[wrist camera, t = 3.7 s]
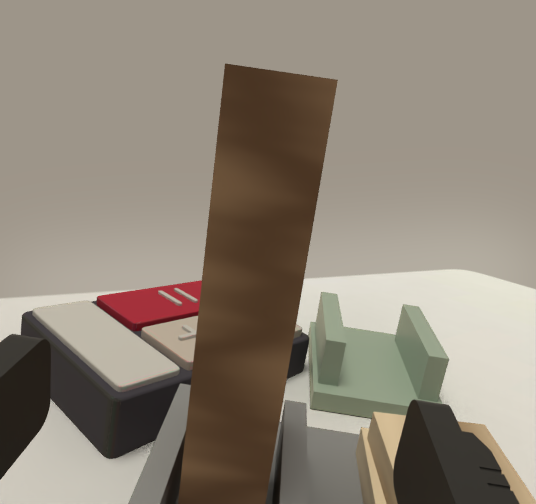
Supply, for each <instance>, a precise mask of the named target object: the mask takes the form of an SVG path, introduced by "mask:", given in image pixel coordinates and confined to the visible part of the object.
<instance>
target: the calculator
mask: <svg viewBox="0 0 536 504" xmlns="http://www.w3.org/2000/svg"><path fill="white" fill-rule="evenodd" d="M201 285H202V281H196V282H188V283H182V284H176V285H168V286H162V287H155V288H148V289H142V290H135V291H128V292H121V293H115V294H108V295H102V296H98V297H97V301H93V302H90V301H79V302H73V303H66V304H60V305H53V306H47V307H40V308H35V309H33V311H29V312H25V313H24V314H23V315H22V324H21V335H22V336H28V337H35V338H41V339H46V340H48V341H49V343H50V346H51V387H50V398H51V399H52V400H53V402H54V403H55V404H56V405H57V406H58V407H59V408H60V409H61V410H62V411H63V412H64V414H65V415H66V416H67V417H68V418H69V419H70V420H71V421H72V422H73V423H74V424H75V426H76V427H77V428H78V429H79V430H80V431H81V432H82V433H83V434H84V435H85V436H86V437H87V439H88V440H89V441H90V442H91V443H92V444H93V445H94V446H95V447H96V448H97V449H98V451H99V452H100V453H101V454H102V455H103V456H104V457H106V458H109V459H113V458H117V457H119V456H122V455H124V454H126V453H128V452H130V451H133V450H135V449H137V448H139V447H141V446H143V445H146V444H148V443H150V442H152V441H154V440H156V438H157V436H158V434H159V431H160V429H161V427H162V424H163V422H164V420H165V417H166V415H167V413H168V410H169V408H170V406H171V403H172V401H173V399H174V396H175V394H176V392H177V390H178V387H179V385H180V384H187V385H191V378H192V369H193V359H194V350H195V341H196V331H197V322H198V313H199V303H200V294H201ZM309 339H310V338H309V336H308V335H306V334H304V333H302V327H300V326H298V325H296V327H295V333H294V339H293V344H292V350H291V356H290V362H289V368H288V374H287V379H288V378H290V377H292V376H294V375H296V374H298V373H301V372H302V371H303V368H304V363H305V359H306V354H307V349H308V344H309Z"/></svg>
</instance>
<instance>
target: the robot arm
mask: <svg viewBox="0 0 536 504" xmlns="http://www.w3.org/2000/svg"><path fill="white" fill-rule="evenodd" d="M50 387H51V346H50V343H49V341H48V340H46V339H41V338H35V337H28V336H22V335H16V334H12V335H9V336H8V337H6V338H5V339H4V340H3V341H1V342H0V479H1V478H2V477H3V476H4V474H5V473H6V472H7V471H8V469H9V468H10V467H11V466H12V465H13V463H14V462H15V461H16V460H17V458H18V457H19V456H20V455H21V453H22V452H23V451H24V450H25V448H26V447H27V446H28V445H29V443H30V442H31V441H32V440H33V438H34V437H35V436H36V435H37V433H38V432H39V431H40V429H41V428H42V426H43V424H44V422H45V420H46V417H47V414H48V411H49V407H50ZM393 484H394V491H395V495H396V499H397V503H398V504H520V503H519V501H518V500H517V498H516V496H515V494H514V492H513V491H511V490H510V485H509V483H508V481H507V479H506V477H505V475H504V474H502V470H501V468H500V466H499V464H498V462H497V461H496V459H495V457H494V455H493V453H492V451H491V450H490V449H489V448H488V447H487V446H486V445H485V444H484V443H483V442H482V441H481V440H479V439H478V438H477V437H476V436H475V435H474V434H473V433H471V432H465V431H462V430H461V428H460V426H459V424H458V422H457V420H456V418H455V416H454V413H453V411H452V409H451V408H450V406H449V405H446V404H440V403H434V402H427V401H421V400H415V399H414V400H412V401H411V402H410V404H409V407H408V410H407V414H406V418H405V422H404V425H403V429H402V433H401V437H400V441H399V445H398V449H397V452H396V456H395V461H394V469H393Z"/></svg>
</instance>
